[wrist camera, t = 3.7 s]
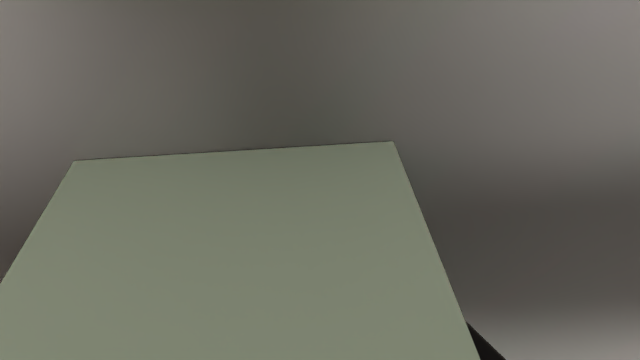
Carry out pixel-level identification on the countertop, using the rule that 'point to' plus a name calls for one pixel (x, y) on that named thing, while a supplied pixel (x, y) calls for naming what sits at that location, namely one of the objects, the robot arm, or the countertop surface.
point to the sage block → (233, 262)
